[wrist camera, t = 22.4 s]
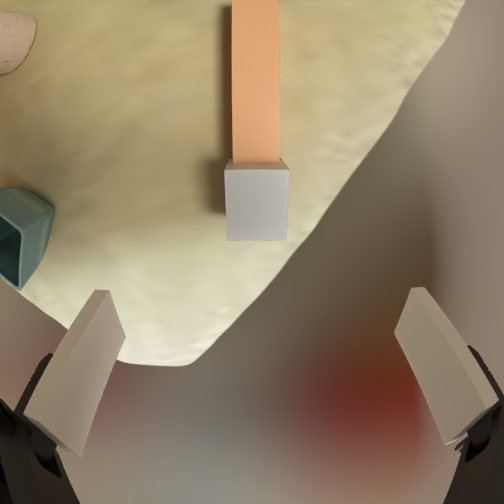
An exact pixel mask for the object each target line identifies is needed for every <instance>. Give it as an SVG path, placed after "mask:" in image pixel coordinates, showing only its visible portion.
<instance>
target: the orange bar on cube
mask: <svg viewBox="0 0 504 504" xmlns="http://www.w3.org/2000/svg"><path fill="white" fill-rule="evenodd" d="M232 136H233V158H230V159H229V161H228V163H227V165H226V167H225V170H224V176H225V203H226V227H227V241H254V240H287V226H288V205H289V180H290V169H289V168H288V167H287V165H286V164H285V163H284V161H283V160H282V159H281V158H279V154H280V28H279V0H232Z"/></svg>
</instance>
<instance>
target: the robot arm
mask: <svg viewBox="0 0 504 504" xmlns="http://www.w3.org/2000/svg"><path fill="white" fill-rule="evenodd" d="M394 334H395V336H396V338H397V340H398V342H399V344H400V346H401V348H402V350H403V352H404V353H405V356H406V357H407V360H408V362H409V364H410V366H411V368H412V370H413V372H414V374H415V376H416V379H417V380H418V383H419V385H420V387H421V389H422V392H423V394H424V396H425V398H426V401H427V403H428V405H429V408H430V410H431V412H432V415H433V417H434V420H435V422H436V425H437V427H438V430H439V432H440V434H441V437H442V440H443V443H444V445H447V444H449V443H451V442H453V441H455V440H458V439H459V438H460V437H461V436H462V435H464V434H465V433H466V432H467V433H468V436H467V437H466V438H465V439H464V440H462V441H461V442H460V443H459V444H458V445H457V446H456V448H455V451H456V450H458V449H459V448H460V447H461V446H463V447H462V449H460V451H459V452H461V456H460V459H459V462H458V465H457V468H456V471H455V474H454V477H453V480H452V483H451V485H450V488H449V491H448V493H447V496H446V498H445V500H444V503H443V504H504V395H503V393H502V391H501V390H500V388H499V386H498V384H497V383H496V381H495V379H494V378H493V376H492V374H491V372H490V371H488V367H487V366H486V364H484V361H483V359H482V358H481V356H480V355H479V353H478V352H477V351H476V350H474V349H473V348H472V347H471V346H470V345H469V346H467V345H466V344H465V342H464V341H463V339H462V338H461V336H460V335H459V334H458V332H457V331H456V329H455V328H454V327H453V325H452V324H451V322H450V321H449V319H448V318H447V317H446V315H445V314H444V312H443V311H442V310H441V309H440V307H439V306H438V304H437V303H436V302H435V301H434V299H433V298H432V297H431V295H430V294H429V293H428V292H427V290H426V289H425V288H424V287H418V288H411V291H410V293H409V296H408V299H407V301H406V304H405V307H404V309H403V312H402V314H401V317H400V320H399V322H398V325H397V327H396V329H395V332H394ZM125 337H126V336H125V333H124V331H123V328H122V325H121V323H120V320H119V317H118V315H117V312H116V309H115V306H114V303H113V300H112V297H111V294H110V291H109V290H94V292H93V293H92V295H91V296H90V298H89V299H88V301H87V302H86V304H85V305H84V307H83V308H82V310H81V311H80V313H79V314H78V316H77V317H76V319H75V320H74V322H73V323H72V325H71V327H70V328H69V330H68V331H67V333H66V335H65V336H64V338H63V339H62V341H61V343H60V345H59V346H58V348H57V350H56V351H55V353H54V354H51V353H49V354H48V355H47V356H46V357H44V358H43V359H42V360H41V361H40V363H39V365H38V366H37V368H36V370H35V373H34V374H33V375H32V377H31V381H29V383H28V385H27V386H26V389H25V391H24V392H23V395H22V396H21V398H20V401H19V403H18V405H17V406H16V408H15V410H14V412H13V411H12V410H11V409H10V408H9V407H8V405H7V404H6V403H5V402H4V401H3V400H2V399H0V504H80V503H79V501H78V499H77V496H76V494H75V492H74V490H73V488H72V486H71V484H70V481H69V479H68V477H67V474H66V472H65V470H64V467H63V465H62V462H61V459H60V457H59V454H58V452H57V451H56V450H55V449H56V446H57V445H58V446H59V447H60V448H62V449H63V450H64V451H66V452H68V453H71V454H73V455H76V456H78V457H81V455H82V452H83V449H84V446H85V442H86V439H87V436H88V433H89V430H90V427H91V424H92V421H93V418H94V415H95V413H96V409H97V407H98V404H99V401H100V399H101V396H102V393H103V391H104V388H105V385H106V383H107V380H108V378H109V375H110V373H111V370H112V368H113V365H114V363H115V360H116V358H117V356H118V353H119V351H120V349H121V346H122V344H123V342H124V339H125Z"/></svg>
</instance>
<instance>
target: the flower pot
mask: <svg viewBox="0 0 504 504" xmlns="http://www.w3.org/2000/svg"><path fill="white" fill-rule="evenodd" d="M53 216H54V207H53V206H51V205H50V204H48V203H47V202H45V201H44V200H42V199H41V198H39V197H38V196H36V195H35V194H33V193H32V192H30V191H27V190H25V189H21V188H16V187H8V188H3V189H0V276H2V277H3V278H4V279H5V280H6V281H7V282H9V283H10V284H11V285H12V286H13V287H15V288H16V289H18V290H19V291H21V289H22V288H23V286H24V285H25V284H26V282H27V281H28V279H29V278H30V277H31V275H32V274H33V273H34V271H35V270H36V268H37V267H38V265H39V264H40V262H41V260H42V258H43V255H44V253H45V250H46V247H47V243H48V240H49V235H50V230H51V225H52V220H53Z"/></svg>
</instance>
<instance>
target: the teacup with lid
mask: <svg viewBox="0 0 504 504" xmlns="http://www.w3.org/2000/svg"><path fill="white" fill-rule="evenodd" d="M35 34H36V21H35V19H34V18H33V17H32V16H30V15H26V14H22V13H17V12H12V11H7V10H1V9H0V74H6V73H9V72H11V71H13V70H15V69H16V68H17V67H18V66H19V65H20V64H21V63H22V61H23V60H24V59H25V57H26V56H27V54H28V52H29V50H30V48H31V46H32V44H33V41H34V38H35Z"/></svg>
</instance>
